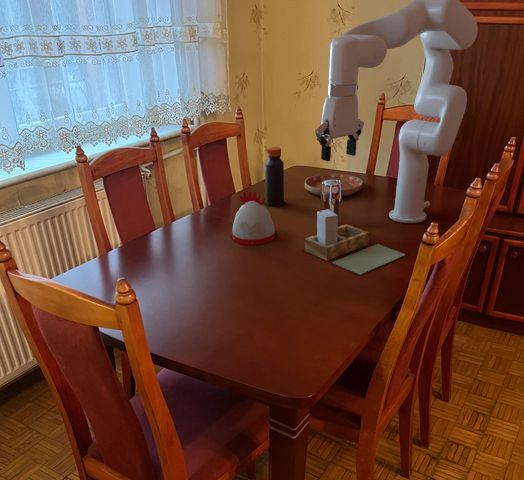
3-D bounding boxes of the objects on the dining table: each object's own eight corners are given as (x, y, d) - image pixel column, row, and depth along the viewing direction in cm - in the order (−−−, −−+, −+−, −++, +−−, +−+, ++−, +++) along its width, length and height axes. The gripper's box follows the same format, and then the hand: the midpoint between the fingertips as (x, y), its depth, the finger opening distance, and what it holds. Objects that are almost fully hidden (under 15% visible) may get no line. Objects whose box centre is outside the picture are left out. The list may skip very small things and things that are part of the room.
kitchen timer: (238, 227, 185) (236, 183, 176) (278, 229, 182) (277, 184, 174) (228, 243, 173) (225, 197, 165) (270, 245, 171) (269, 198, 162)
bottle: (287, 202, 205) (287, 147, 194) (278, 207, 200) (277, 151, 189) (271, 199, 208) (271, 145, 197) (262, 204, 203) (261, 149, 192)
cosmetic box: (337, 253, 164) (339, 215, 157) (324, 256, 163) (325, 217, 156) (328, 246, 169) (330, 208, 162) (315, 248, 168) (316, 210, 161)
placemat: (377, 244, 169) (377, 243, 169) (405, 255, 162) (406, 254, 162) (332, 263, 159) (332, 262, 159) (360, 275, 152) (360, 274, 151)
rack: (345, 235, 176) (346, 224, 174) (368, 244, 170) (369, 232, 167) (304, 251, 167) (304, 238, 164) (326, 260, 160) (327, 248, 158)
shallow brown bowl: (300, 183, 224) (300, 174, 222) (354, 180, 226) (354, 171, 224) (310, 201, 205) (310, 191, 203) (369, 197, 207) (369, 188, 205)
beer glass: (339, 231, 179) (341, 185, 171) (318, 230, 181) (319, 185, 172) (340, 223, 185) (343, 179, 177) (320, 222, 186) (321, 178, 178)
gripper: (355, 86, 150) (351, 150, 160) (308, 92, 142) (306, 160, 151) (375, 89, 145) (369, 155, 155) (327, 96, 137) (324, 165, 146)
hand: (338, 157), depth 153 cm, fingers open, 9 cm apart
